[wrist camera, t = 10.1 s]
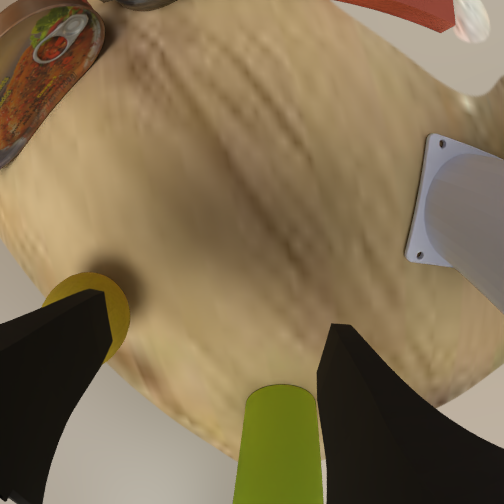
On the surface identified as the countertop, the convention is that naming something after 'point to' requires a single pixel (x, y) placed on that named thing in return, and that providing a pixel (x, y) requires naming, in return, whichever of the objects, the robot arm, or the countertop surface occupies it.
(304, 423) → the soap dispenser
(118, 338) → the lemon
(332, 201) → the countertop surface
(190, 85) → the countertop surface
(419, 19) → the ratchet
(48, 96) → the tin
